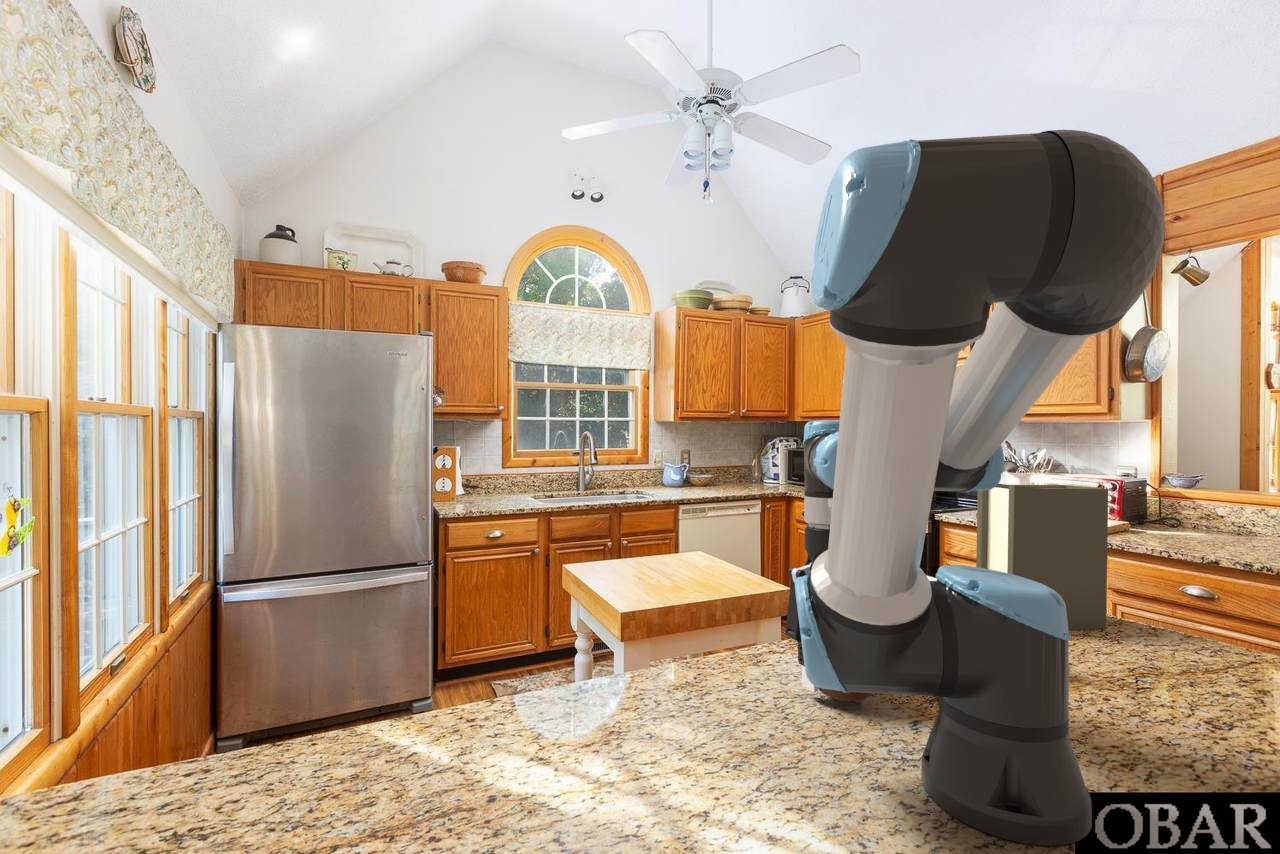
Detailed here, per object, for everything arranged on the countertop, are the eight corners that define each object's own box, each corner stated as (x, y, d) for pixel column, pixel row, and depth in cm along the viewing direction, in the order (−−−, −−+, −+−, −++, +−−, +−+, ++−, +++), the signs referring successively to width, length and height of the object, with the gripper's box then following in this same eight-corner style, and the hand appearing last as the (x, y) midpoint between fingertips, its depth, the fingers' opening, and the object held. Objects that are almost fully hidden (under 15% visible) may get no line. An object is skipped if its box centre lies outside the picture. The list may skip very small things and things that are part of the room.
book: (1067, 617, 125) (1069, 482, 125) (1109, 631, 115) (1111, 486, 116) (975, 620, 121) (977, 481, 121) (1011, 635, 112) (1014, 485, 112)
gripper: (789, 532, 81) (791, 705, 80) (903, 525, 88) (905, 682, 88) (757, 526, 87) (759, 684, 87) (865, 519, 95) (867, 665, 95)
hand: (832, 683), depth 87 cm, fingers closed on mug, 7 cm apart
